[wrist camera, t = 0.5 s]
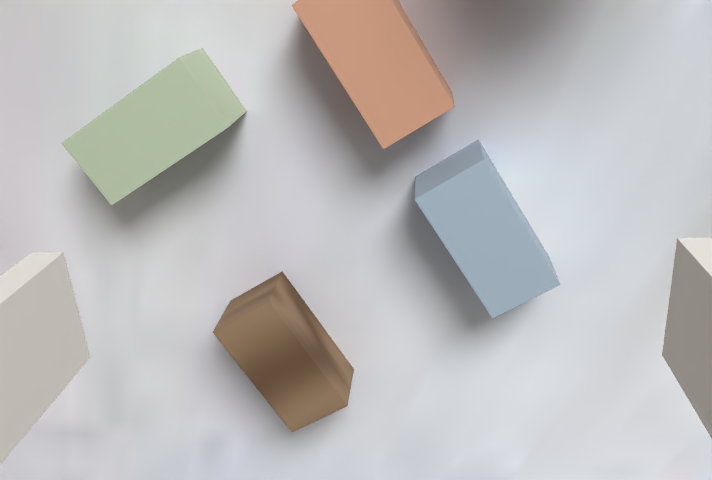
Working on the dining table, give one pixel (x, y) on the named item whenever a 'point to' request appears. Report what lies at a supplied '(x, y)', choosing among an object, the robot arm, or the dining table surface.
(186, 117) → the sage brick
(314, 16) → the terracotta brick
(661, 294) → the dining table surface
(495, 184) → the blue brick
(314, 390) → the walnut brick
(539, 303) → the dining table surface
